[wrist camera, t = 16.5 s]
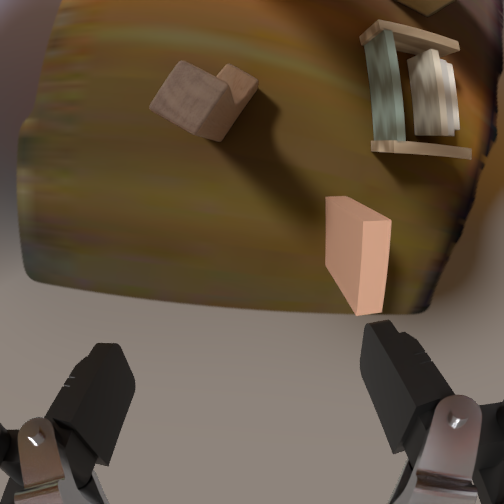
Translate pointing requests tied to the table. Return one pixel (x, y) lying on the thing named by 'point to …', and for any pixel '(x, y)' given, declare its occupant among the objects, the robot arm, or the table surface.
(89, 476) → the robot arm
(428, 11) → the food packaging
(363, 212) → the pink rectangular block
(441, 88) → the offcut rack
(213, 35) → the table surface
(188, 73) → the wooden block
